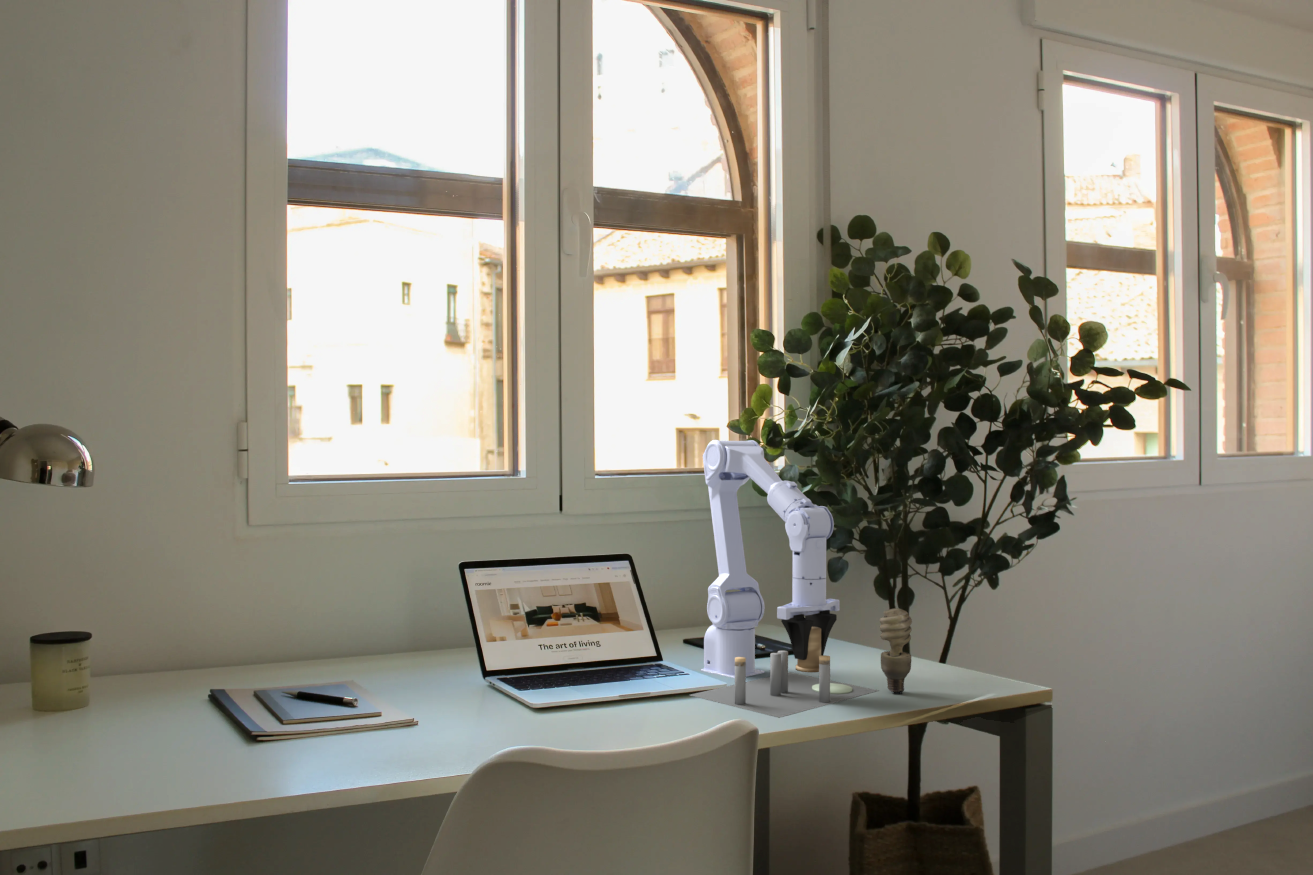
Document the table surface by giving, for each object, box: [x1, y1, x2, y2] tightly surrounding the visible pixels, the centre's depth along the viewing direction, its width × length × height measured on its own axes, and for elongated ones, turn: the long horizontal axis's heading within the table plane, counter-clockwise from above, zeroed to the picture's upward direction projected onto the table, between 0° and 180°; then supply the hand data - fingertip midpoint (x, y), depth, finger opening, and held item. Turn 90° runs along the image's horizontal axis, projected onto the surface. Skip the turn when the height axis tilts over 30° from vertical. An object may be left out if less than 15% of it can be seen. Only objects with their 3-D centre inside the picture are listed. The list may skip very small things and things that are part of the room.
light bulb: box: [879, 607, 913, 695], centre depth 178 cm, size 6×6×15 cm
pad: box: [812, 683, 852, 694], centre depth 180 cm, size 7×7×1 cm
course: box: [689, 650, 880, 719], centre depth 178 cm, size 20×27×8 cm
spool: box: [795, 627, 821, 674], centre depth 176 cm, size 5×5×7 cm
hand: (809, 657), depth 176 cm, fingers closed on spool, 4 cm apart
